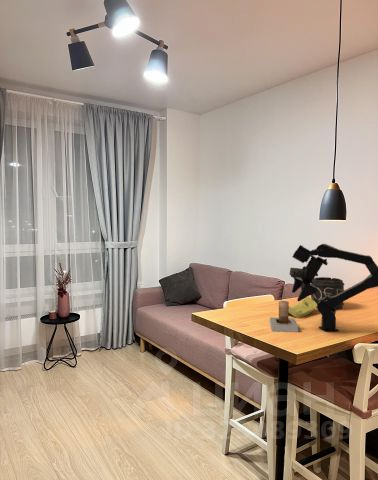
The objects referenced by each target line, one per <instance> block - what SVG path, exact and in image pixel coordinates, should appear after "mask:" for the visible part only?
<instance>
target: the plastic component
mask: <svg viewBox="0 0 378 480" xmlns="http://www.w3.org/2000/svg"><path fill="white" fill-rule="evenodd" d="M316 307H317V303H316V302H315V301H313V300H312V299H311V297H309V296H308V297H306V298H304V299H303V300H301V301H299V303H298V304H296V305H293V306H290V305H289V314H290V315H291V316H293V318H294V317H295V318H296V319H300V318H303V317H305V316H308V315H310V314H311V313H312V312H313V311H314V310H316V309H317V308H316Z"/></svg>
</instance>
